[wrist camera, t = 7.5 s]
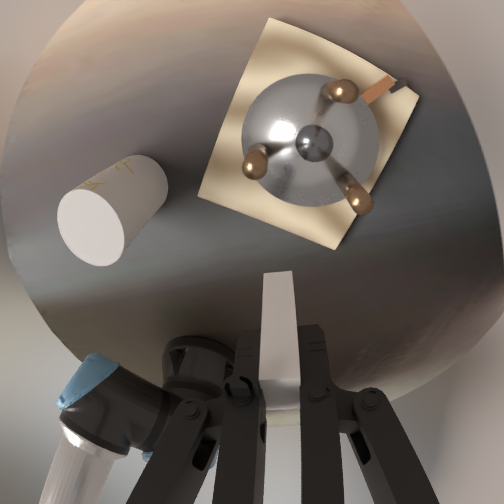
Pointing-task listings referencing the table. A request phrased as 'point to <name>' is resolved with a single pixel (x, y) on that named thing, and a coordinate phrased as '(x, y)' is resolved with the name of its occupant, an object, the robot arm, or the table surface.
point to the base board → (259, 78)
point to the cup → (111, 209)
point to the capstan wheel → (313, 140)
